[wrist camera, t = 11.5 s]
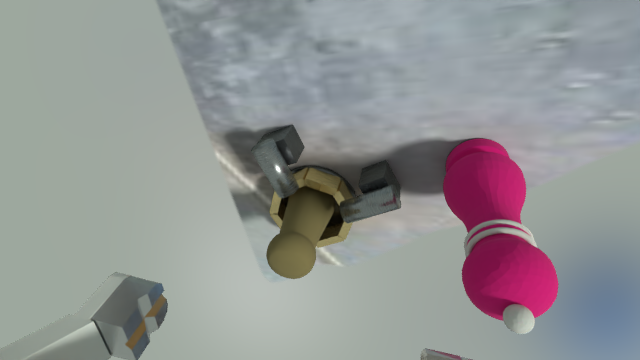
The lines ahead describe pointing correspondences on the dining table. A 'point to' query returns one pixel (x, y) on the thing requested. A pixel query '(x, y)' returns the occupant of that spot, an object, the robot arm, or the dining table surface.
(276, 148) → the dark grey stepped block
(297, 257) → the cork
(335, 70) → the dining table surface
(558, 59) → the dining table surface
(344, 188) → the coupling collar
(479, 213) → the pepper mill
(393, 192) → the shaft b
